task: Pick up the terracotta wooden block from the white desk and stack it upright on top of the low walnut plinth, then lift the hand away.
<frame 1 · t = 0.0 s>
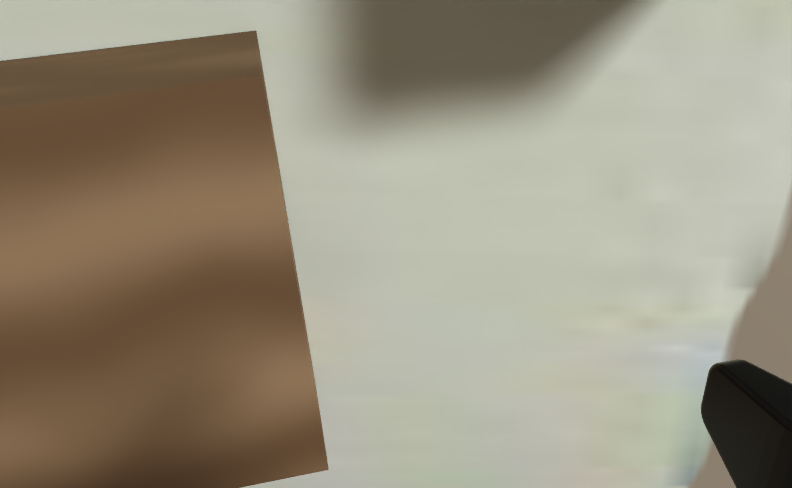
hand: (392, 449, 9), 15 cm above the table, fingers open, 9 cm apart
walnut plinth: (76, 271, 23), on the table
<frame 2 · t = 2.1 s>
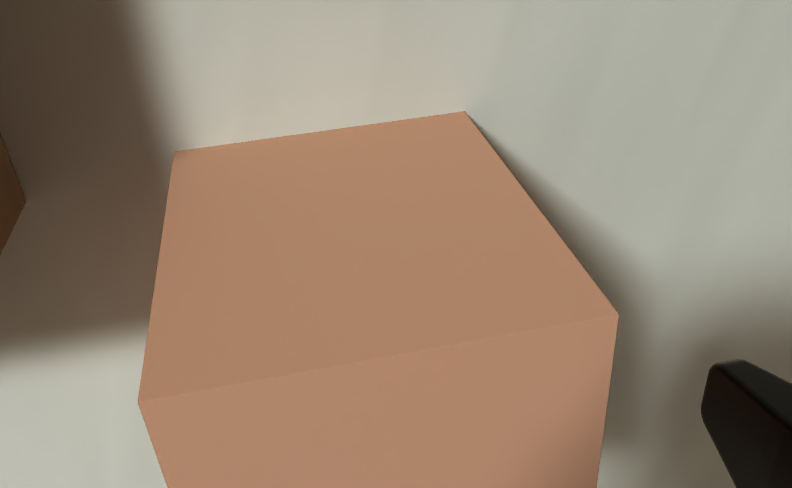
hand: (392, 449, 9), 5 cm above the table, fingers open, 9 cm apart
terracotta block: (338, 252, 14), on the table
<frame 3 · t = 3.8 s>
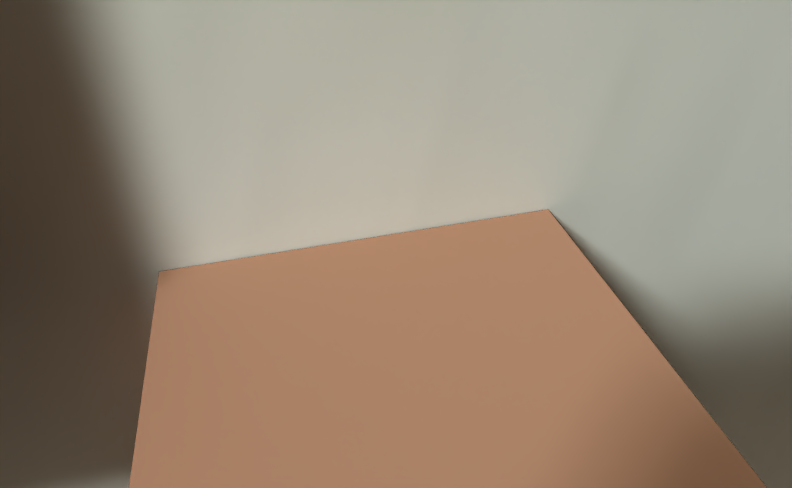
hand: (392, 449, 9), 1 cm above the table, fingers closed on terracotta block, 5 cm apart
terracotta block: (376, 384, 10), on the table, touching gripper
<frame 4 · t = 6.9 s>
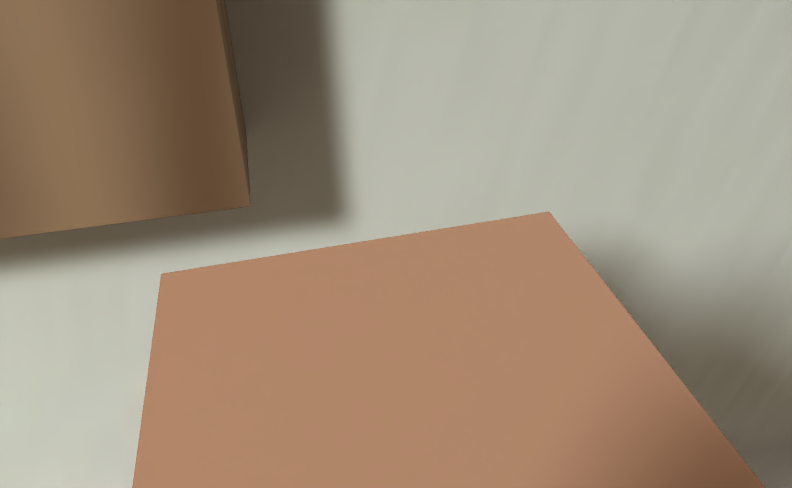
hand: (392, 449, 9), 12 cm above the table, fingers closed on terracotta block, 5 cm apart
terracotta block: (377, 386, 11), point 11 cm above the table, touching gripper
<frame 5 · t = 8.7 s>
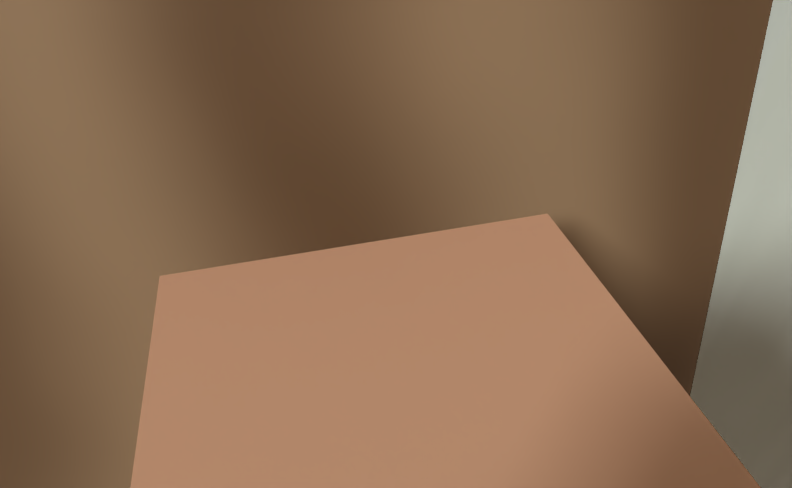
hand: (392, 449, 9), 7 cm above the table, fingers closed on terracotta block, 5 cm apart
walnut plinth: (321, 191, 16), on the table
terracotta block: (376, 388, 11), point 6 cm above the table, touching gripper
when the fingers open (7 cm above the table, at t = 10.0 s): terracotta block drops 1 cm, resting on walnut plinth.
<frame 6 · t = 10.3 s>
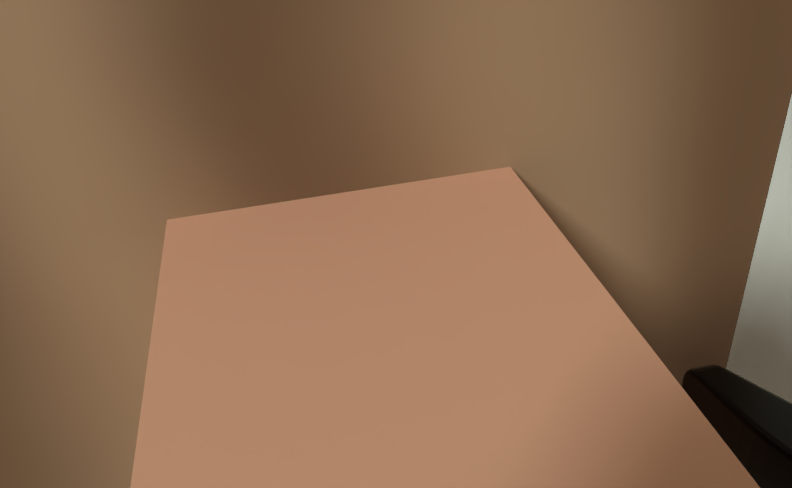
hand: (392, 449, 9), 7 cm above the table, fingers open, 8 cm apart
walnut plinth: (328, 207, 15), on the table
terracotta block: (360, 327, 12), point 4 cm above the table, touching walnut plinth
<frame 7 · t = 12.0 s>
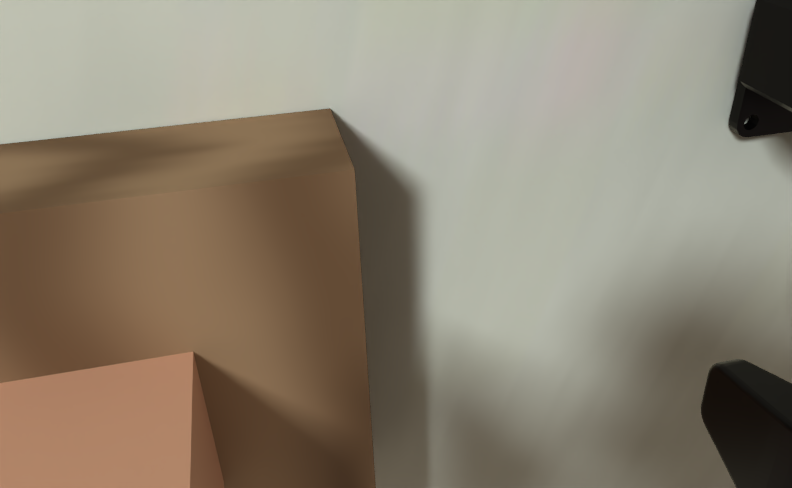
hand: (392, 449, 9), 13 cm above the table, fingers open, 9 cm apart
walnut plinth: (126, 343, 23), on the table
terracotta block: (115, 438, 19), point 4 cm above the table, touching walnut plinth
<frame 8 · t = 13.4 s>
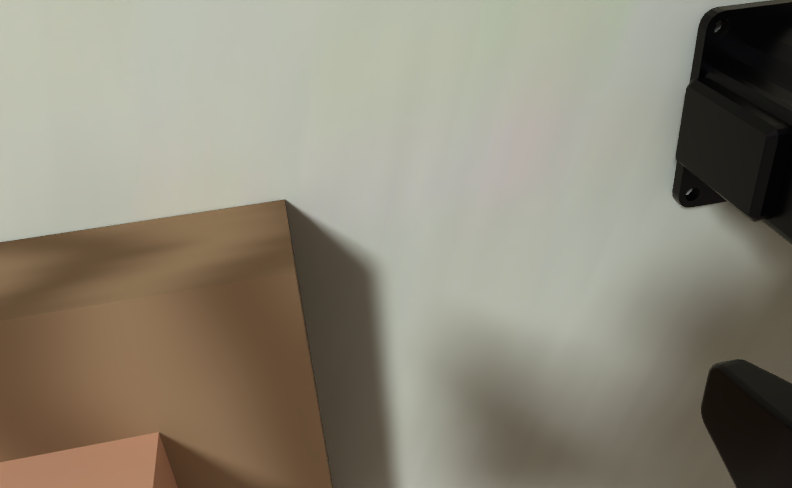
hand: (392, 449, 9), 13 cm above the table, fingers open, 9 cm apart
walnut plinth: (109, 410, 25), on the table
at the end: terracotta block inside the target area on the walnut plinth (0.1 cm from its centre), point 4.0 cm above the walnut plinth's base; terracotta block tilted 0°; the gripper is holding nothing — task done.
